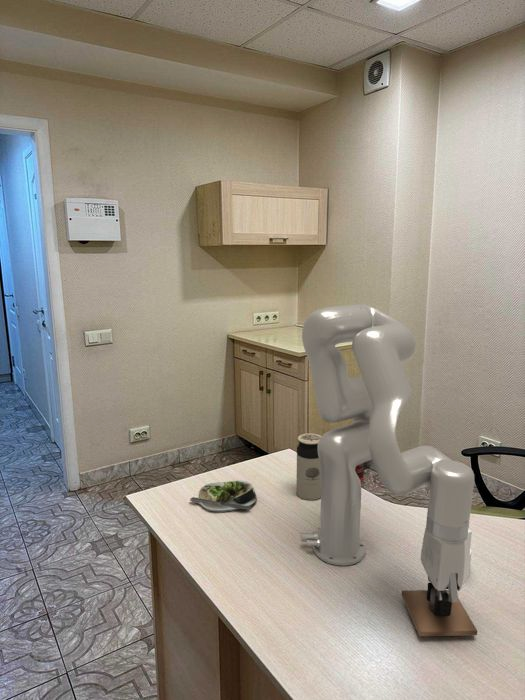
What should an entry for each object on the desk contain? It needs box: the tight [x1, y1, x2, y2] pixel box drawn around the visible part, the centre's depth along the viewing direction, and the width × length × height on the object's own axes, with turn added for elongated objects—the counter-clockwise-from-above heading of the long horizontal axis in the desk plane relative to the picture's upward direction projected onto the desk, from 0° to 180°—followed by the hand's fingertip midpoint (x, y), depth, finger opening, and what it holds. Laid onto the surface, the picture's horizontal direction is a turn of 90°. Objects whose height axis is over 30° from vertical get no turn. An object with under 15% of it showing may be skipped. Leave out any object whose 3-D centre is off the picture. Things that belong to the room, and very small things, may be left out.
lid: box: [401, 587, 478, 637], centre depth 98 cm, size 11×11×5 cm
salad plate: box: [189, 480, 258, 513], centre depth 145 cm, size 19×18×5 cm
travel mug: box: [295, 433, 323, 501], centre depth 147 cm, size 8×8×18 cm
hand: (438, 606), depth 98 cm, fingers closed on lid, 3 cm apart
